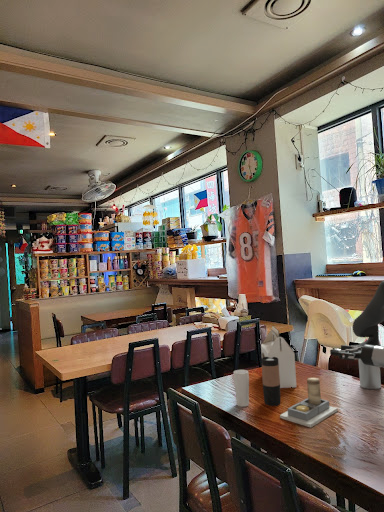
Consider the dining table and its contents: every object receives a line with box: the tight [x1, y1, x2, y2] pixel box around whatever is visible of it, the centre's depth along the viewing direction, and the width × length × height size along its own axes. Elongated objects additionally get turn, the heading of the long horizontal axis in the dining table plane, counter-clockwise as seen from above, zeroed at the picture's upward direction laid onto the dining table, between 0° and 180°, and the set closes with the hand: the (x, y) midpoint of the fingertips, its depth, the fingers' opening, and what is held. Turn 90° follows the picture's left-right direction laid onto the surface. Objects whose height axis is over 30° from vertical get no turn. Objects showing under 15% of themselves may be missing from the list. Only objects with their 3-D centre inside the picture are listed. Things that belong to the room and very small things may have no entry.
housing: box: [279, 397, 339, 428], centre depth 160 cm, size 21×14×4 cm, turn 132°
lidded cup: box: [306, 377, 322, 406], centre depth 163 cm, size 5×5×12 cm
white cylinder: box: [233, 369, 250, 408], centre depth 174 cm, size 7×7×15 cm
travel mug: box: [261, 357, 282, 407], centre depth 174 cm, size 8×8×20 cm
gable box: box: [260, 325, 297, 389], centre depth 204 cm, size 22×13×28 cm, turn 179°
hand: (336, 349), depth 155 cm, fingers open, 8 cm apart
